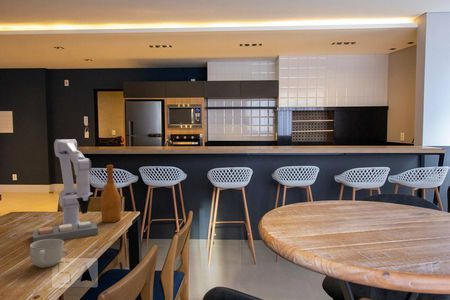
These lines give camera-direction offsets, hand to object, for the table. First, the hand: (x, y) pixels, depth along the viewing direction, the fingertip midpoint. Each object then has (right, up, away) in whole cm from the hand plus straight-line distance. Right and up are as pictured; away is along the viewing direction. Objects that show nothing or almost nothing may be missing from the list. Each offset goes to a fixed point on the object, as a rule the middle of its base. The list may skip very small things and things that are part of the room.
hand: (84, 212), depth 151 cm
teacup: (+2, -12, -36) cm, 38 cm away
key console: (-7, -10, -4) cm, 12 cm away
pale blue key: (0, -7, 0) cm, 7 cm away
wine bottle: (+6, -8, +20) cm, 23 cm away
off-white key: (-7, -7, -4) cm, 11 cm away
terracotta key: (-14, -8, -8) cm, 17 cm away
